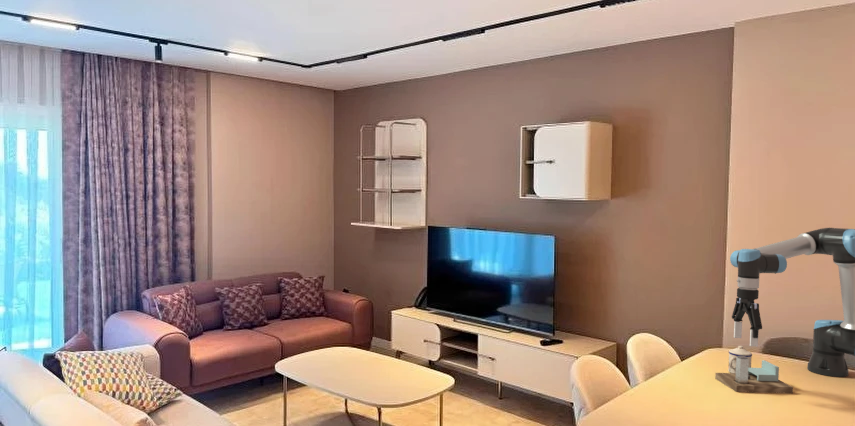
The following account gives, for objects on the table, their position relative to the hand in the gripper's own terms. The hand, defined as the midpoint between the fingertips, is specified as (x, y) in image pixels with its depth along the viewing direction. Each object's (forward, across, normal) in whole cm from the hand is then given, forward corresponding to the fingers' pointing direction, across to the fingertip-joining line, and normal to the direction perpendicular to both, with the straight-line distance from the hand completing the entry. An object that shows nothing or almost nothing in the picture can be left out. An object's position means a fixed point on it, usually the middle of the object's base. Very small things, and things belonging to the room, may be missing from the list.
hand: (745, 341), depth 240 cm
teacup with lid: (+19, -21, +7) cm, 29 cm away
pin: (+18, 0, -1) cm, 18 cm away
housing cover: (+16, -7, +10) cm, 20 cm away
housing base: (+18, -4, +5) cm, 19 cm away
